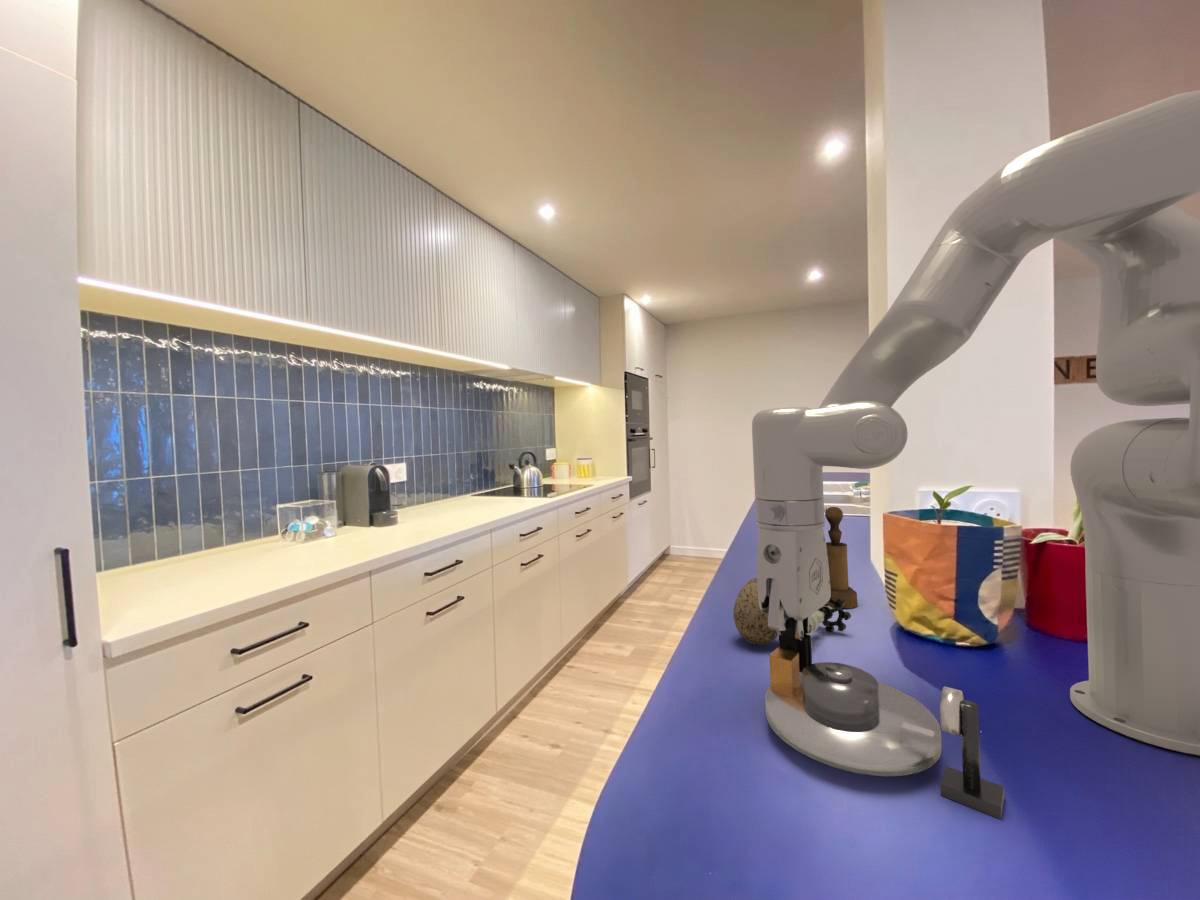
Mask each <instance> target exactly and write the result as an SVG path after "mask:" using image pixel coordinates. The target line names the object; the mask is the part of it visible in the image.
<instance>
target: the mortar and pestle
mask: <svg viewBox="0 0 1200 900" xmlns="http://www.w3.org/2000/svg"><path fill="white" fill-rule="evenodd" d="M824 518H826V520H827V522H828V523H829V527H830V529H829V530H828V537H829V539H830V540H829V541H828V542H827V541H826V547H827V555H828V565H829V576H830V588H831V592H832V593H833V596H832V598H833V599H835V600H837V599H839V598H843V599H844V600H845V605H843V606H842V608H848V609H854V608H856V607H858V593H857V591H856V590H854V588H852V587H851V586H850V585H849V569H848V566H849V565H848V544H847V543H844V542H841V539H842V533H843V532H842V531H841V530H840V523H841V522H842V520H843V518H844V512H843V510H842V509H841V508H839V507H837V506H829V507H828V508H826V510H825V511H824ZM825 605H826V606H831V607H832V608H834V607H835V605H834V604H832V603H831V602H827V603H826V604H825ZM825 605H824V606H825ZM853 607H854V608H853Z"/></svg>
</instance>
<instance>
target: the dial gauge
mask: <svg viewBox="0 0 1200 900" xmlns="http://www.w3.org/2000/svg"><path fill="white" fill-rule="evenodd" d="M939 702H940V704H939V720H940V721H939V725H940V729H941V731H944V732H946V733H949V734H952V735H956V736H959V737H961V762H962V766H961V767H962V770H959V769H956V768H954V767H952V766H948V765H946V766H945V769H944V771H943V775H942V777H941V781H940V783H939V785H940V787H939V789H940V796H942V797H945V798H947V799H949V800H951V801H954V802H957V803H958V804H959V803H960V804H962V805H963V806H967V807H969V808H971V809H974V810H977V811H978V812H981V813H984V814H987V815H990V816H992V817H995V818H997V819H1000V820H1002V815H1003V810H1004V803H1005V786H1004V785H1000V784H998V783H995V782H992V781H989V780H987V779H984V778H981V756H980V754H981V753H980V752H981V751H980V733H979V732H980V728H979V726H980V724H979V723H980V722H979V705H978V704H977V703H975V702H974V701H970V700H967V699H965V700H964V695H963V691H962V690H960V689H956V688H953V687H949V686H948V687H947V686H942V689H941V695H940V701H939Z"/></svg>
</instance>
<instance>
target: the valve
mask: <svg viewBox="0 0 1200 900" xmlns="http://www.w3.org/2000/svg"><path fill="white" fill-rule="evenodd" d="M832 596H833V593H832V592H831V597H830V600H829V601H828V602H831V603H832V604H834V605H835V608H834V607H831V606H825V605H824V606H822V607H821V608H820V609H818V610H817V611H816V612H814V613H813V614H812V631H811V633H810V634H807V633H806V634H807V635H811V636H812V634H813V632H815V631H817V630H818V629H819V627H820V624H821V623H822V625H823V626H824V630H825V632H826V633H832V632H833V631H834V630H835V627H834V626H837V630H838V631H839V632H843V631H845V630H846V629H847V624H846V623H844V622H843V620H844V621H848V620H850V619H851V618H852V614H851V612H849V611H844V609H842V606H843V605H845V600H844V599H843V598H839V599H837V600H835V599H833V598H832ZM835 612H838V615H837V616H838V617H837V619H836V620H835V621H831V620H830V619H832V618H833V616H835ZM812 646H813V645H812V639H811V650H812V651H813V647H812Z"/></svg>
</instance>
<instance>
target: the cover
mask: <svg viewBox="0 0 1200 900" xmlns="http://www.w3.org/2000/svg"><path fill="white" fill-rule="evenodd" d="M877 681H878V680H877V679H876V677H874V676H873V675H872V674H870V673H868V672H867V671H866V670H863V669H861V668H858V667H856V666H852V665H850V664H846V663H839V662H833V661H832V662H829V661H827V662H823V661H822V662H821V661H820V662H814V663H812V664H810V665H808V666H806V667H805V668H804V669H803V671H802V682H803V706H804V710H805V712H806V713H807V714H808V715H809V716H810V717H811V718H812V719H813V720H815V721H816V722H818V723H820V724H822V725H824V726H827V727H829V728H832V729H836V730H840V731H845V732H866V731H870V730H873V729H874V728H876V727H877V726H878V725H879V723H880V711H879V685H878V682H879V681H878V682H877Z"/></svg>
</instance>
